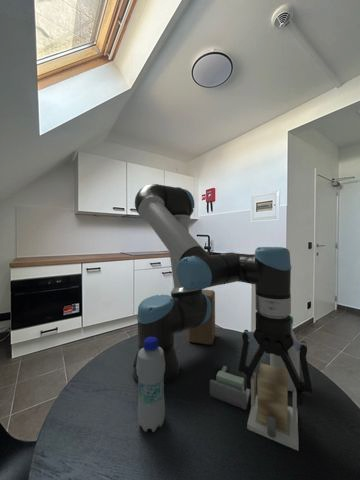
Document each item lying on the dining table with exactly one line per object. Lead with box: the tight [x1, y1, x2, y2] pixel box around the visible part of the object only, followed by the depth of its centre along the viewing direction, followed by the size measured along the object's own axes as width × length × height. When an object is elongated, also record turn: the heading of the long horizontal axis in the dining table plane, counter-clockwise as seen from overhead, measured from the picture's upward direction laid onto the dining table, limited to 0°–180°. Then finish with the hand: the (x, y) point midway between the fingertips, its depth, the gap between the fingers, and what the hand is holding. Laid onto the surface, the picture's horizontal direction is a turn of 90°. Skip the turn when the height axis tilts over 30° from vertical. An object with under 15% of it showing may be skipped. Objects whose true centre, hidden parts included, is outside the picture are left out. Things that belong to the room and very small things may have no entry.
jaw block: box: [256, 362, 289, 432], centre depth 47 cm, size 6×6×10 cm
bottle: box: [136, 337, 166, 433], centre depth 47 cm, size 7×7×20 cm
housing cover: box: [215, 370, 245, 391], centre depth 56 cm, size 7×3×5 cm, turn 61°
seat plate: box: [246, 394, 299, 452], centre depth 48 cm, size 10×11×4 cm
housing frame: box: [209, 365, 251, 411], centre depth 59 cm, size 10×13×4 cm
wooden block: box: [188, 289, 216, 346], centre depth 86 cm, size 10×10×20 cm
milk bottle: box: [269, 314, 301, 392], centre depth 60 cm, size 8×8×20 cm
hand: (273, 409), depth 47 cm, fingers open, 8 cm apart
